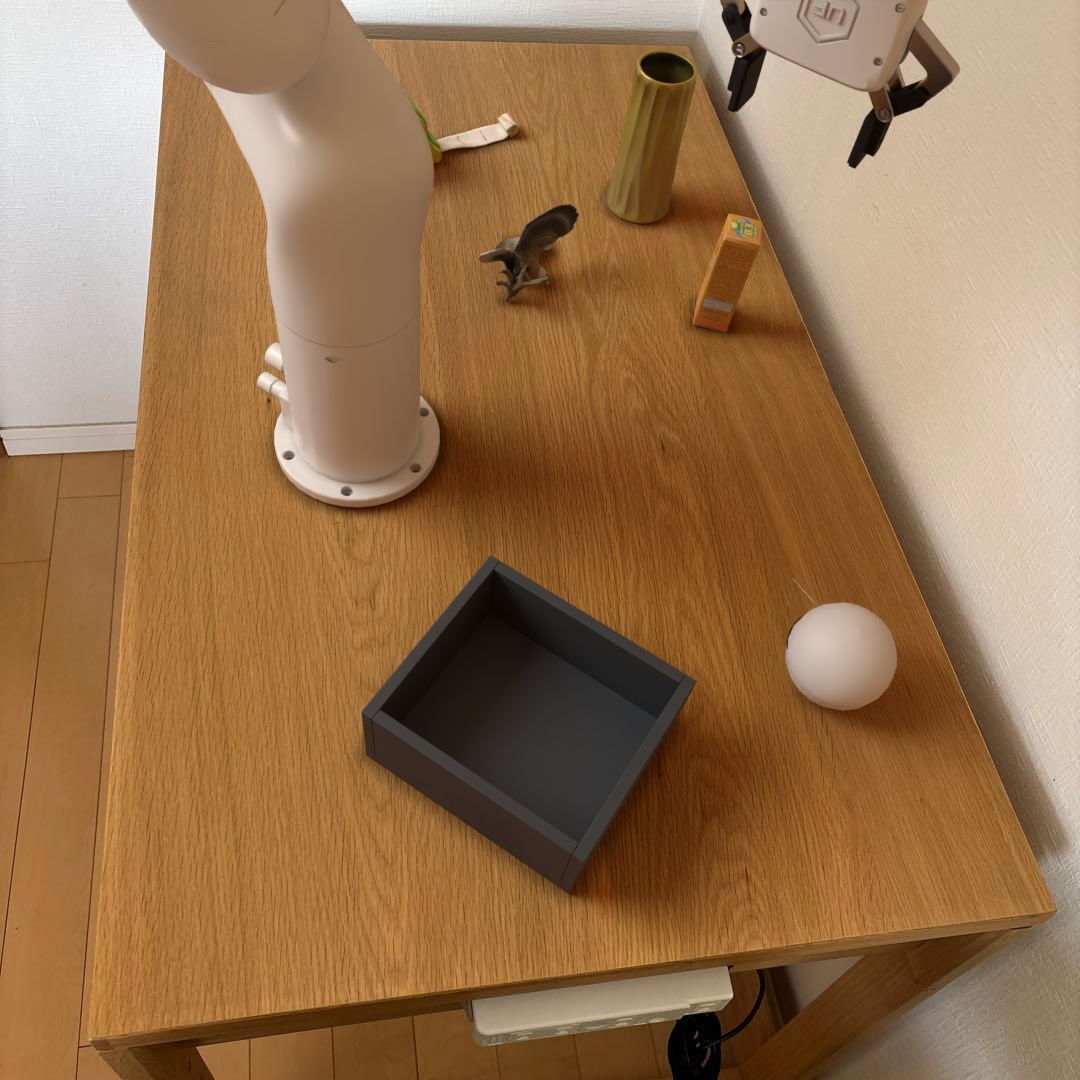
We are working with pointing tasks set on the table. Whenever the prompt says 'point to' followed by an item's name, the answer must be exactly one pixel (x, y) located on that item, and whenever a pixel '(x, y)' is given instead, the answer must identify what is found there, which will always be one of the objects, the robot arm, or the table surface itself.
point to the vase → (652, 136)
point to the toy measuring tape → (469, 135)
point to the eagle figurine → (531, 249)
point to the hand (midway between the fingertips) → (798, 130)
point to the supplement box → (727, 272)
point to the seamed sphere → (840, 655)
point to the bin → (525, 719)
